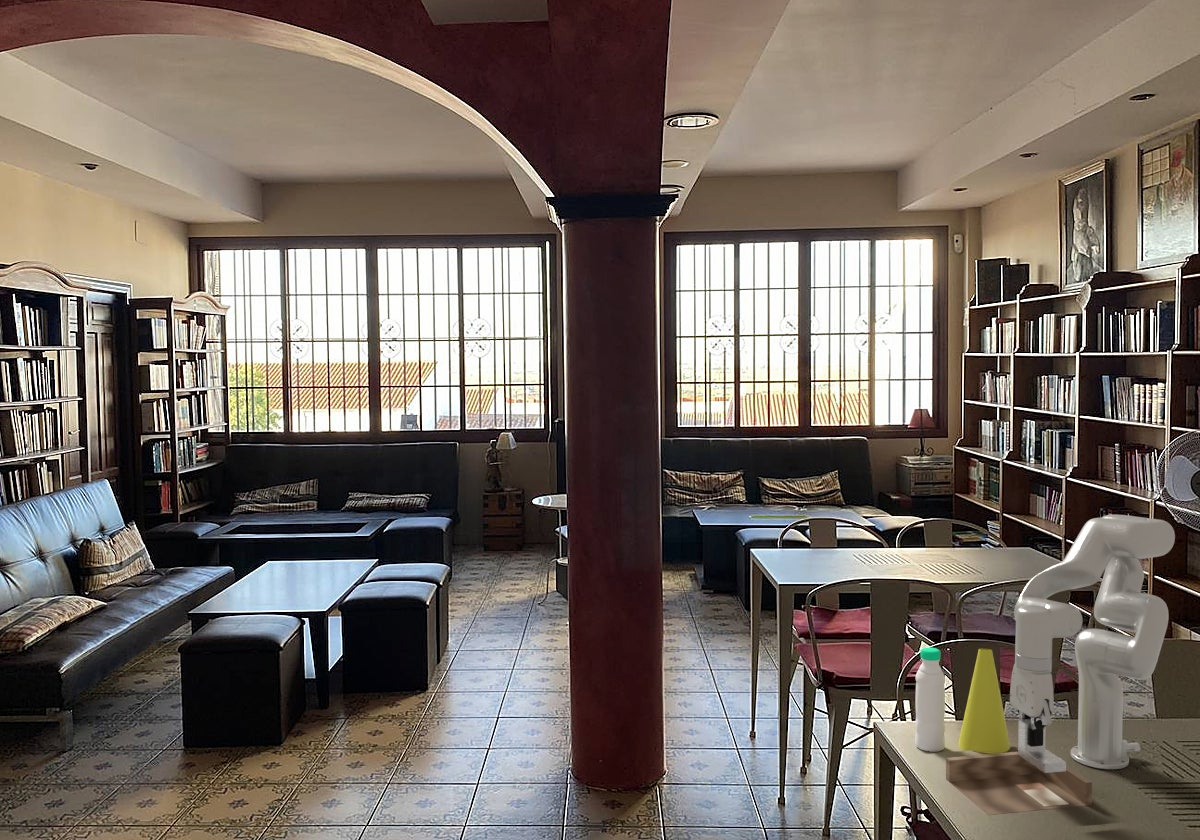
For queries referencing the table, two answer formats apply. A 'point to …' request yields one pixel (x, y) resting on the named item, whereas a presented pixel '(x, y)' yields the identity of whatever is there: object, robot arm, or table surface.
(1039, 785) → the tray
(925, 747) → the water bottle
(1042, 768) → the bracket
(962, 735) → the cone
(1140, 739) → the table surface
